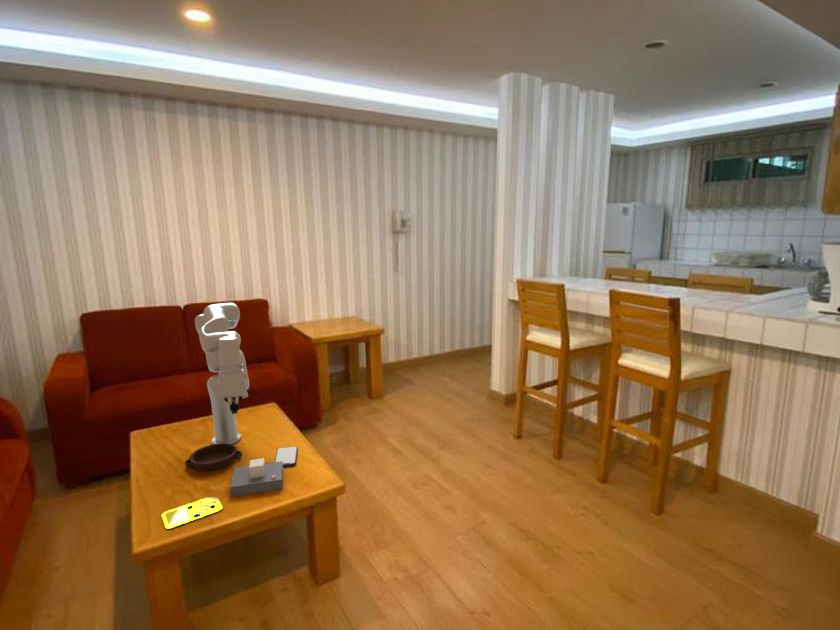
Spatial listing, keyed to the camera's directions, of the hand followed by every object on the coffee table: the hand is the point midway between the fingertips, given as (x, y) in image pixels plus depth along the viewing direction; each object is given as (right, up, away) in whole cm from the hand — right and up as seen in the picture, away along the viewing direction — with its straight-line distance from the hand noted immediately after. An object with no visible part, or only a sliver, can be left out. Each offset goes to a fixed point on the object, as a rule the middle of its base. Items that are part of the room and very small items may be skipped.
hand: (234, 412), depth 180 cm
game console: (-6, -31, -21) cm, 38 cm away
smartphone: (+16, -23, +16) cm, 32 cm away
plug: (+10, -26, -3) cm, 28 cm away
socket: (+10, -27, -3) cm, 29 cm away
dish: (-13, -24, +12) cm, 30 cm away
